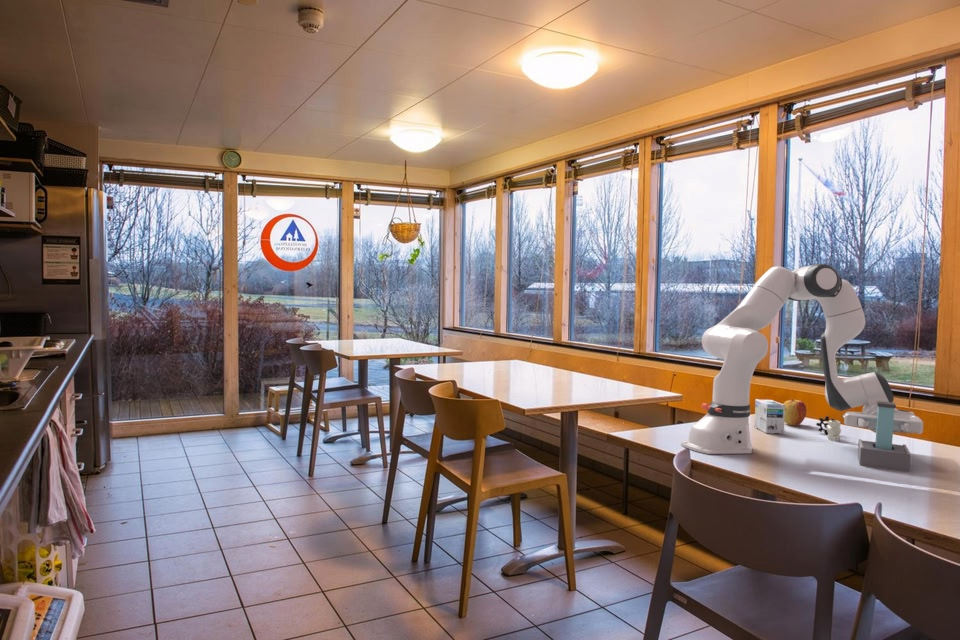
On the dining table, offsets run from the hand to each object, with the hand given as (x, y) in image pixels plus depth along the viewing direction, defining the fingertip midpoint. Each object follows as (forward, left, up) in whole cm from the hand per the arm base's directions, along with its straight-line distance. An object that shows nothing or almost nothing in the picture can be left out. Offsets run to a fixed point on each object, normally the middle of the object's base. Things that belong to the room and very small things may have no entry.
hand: (884, 426), depth 188 cm
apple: (+23, +54, -12) cm, 60 cm away
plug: (0, 0, -11) cm, 11 cm away
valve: (+19, +34, -12) cm, 41 cm away
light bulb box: (+5, +48, -12) cm, 50 cm away
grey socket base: (0, 0, -12) cm, 12 cm away
